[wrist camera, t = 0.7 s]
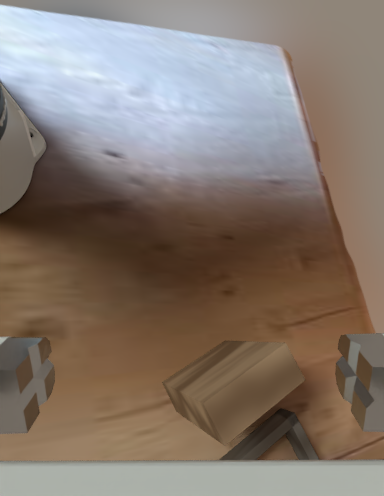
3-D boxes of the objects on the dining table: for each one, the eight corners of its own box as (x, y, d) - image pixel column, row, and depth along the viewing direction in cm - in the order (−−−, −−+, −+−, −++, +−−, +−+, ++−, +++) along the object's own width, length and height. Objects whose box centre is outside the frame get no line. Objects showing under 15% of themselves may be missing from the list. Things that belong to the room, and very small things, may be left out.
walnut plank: (161, 382, 42) (203, 403, 29) (225, 340, 46) (285, 342, 33) (176, 411, 41) (225, 445, 29) (239, 367, 46) (305, 379, 33)
